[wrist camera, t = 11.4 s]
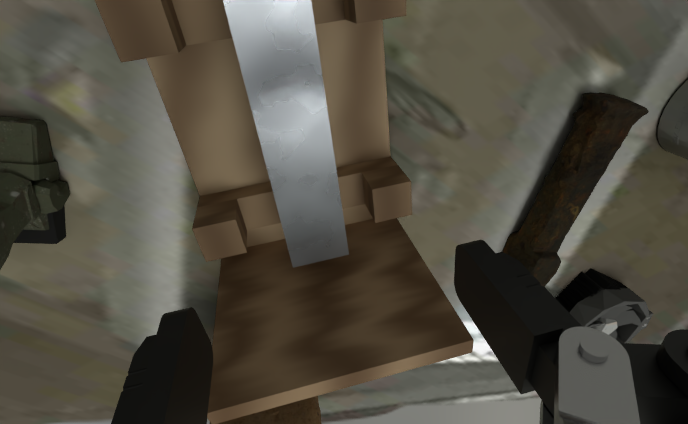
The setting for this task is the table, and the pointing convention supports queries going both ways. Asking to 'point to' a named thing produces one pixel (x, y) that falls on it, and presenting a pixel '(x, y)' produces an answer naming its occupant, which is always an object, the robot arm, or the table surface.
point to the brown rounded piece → (284, 414)
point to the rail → (291, 121)
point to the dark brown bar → (572, 181)
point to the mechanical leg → (29, 186)
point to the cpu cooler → (605, 305)
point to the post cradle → (263, 218)
